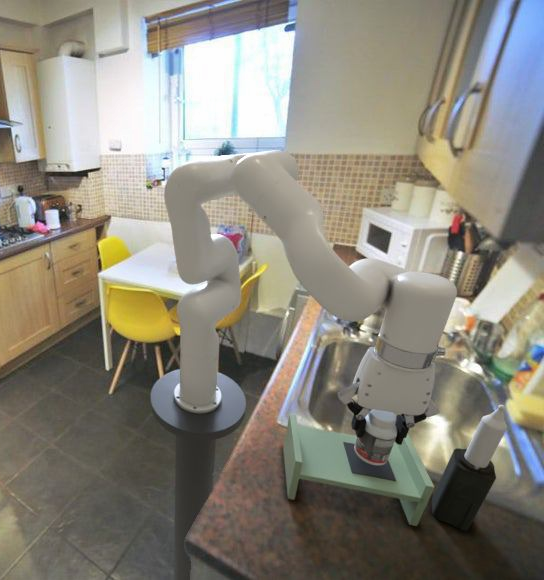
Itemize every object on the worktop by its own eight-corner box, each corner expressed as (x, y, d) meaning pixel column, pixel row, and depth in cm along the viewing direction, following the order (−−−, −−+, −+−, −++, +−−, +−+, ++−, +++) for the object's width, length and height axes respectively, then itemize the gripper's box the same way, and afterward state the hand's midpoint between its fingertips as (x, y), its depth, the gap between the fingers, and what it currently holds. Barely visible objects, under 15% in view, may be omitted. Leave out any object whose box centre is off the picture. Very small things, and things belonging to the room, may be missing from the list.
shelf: (283, 448, 79) (289, 413, 75) (393, 468, 74) (407, 431, 70) (287, 498, 69) (295, 461, 64) (417, 526, 63) (434, 487, 59)
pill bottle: (348, 442, 69) (359, 402, 65) (377, 442, 69) (390, 402, 65) (362, 466, 64) (376, 425, 60) (393, 466, 64) (409, 425, 60)
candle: (432, 517, 65) (483, 409, 54) (431, 495, 69) (478, 389, 58) (469, 533, 62) (530, 423, 52) (466, 509, 66) (522, 401, 55)
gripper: (456, 343, 58) (423, 428, 66) (339, 331, 63) (320, 412, 70) (482, 372, 52) (441, 462, 59) (349, 356, 56) (327, 442, 64)
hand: (376, 434), depth 65 cm, fingers closed on pill bottle, 5 cm apart
